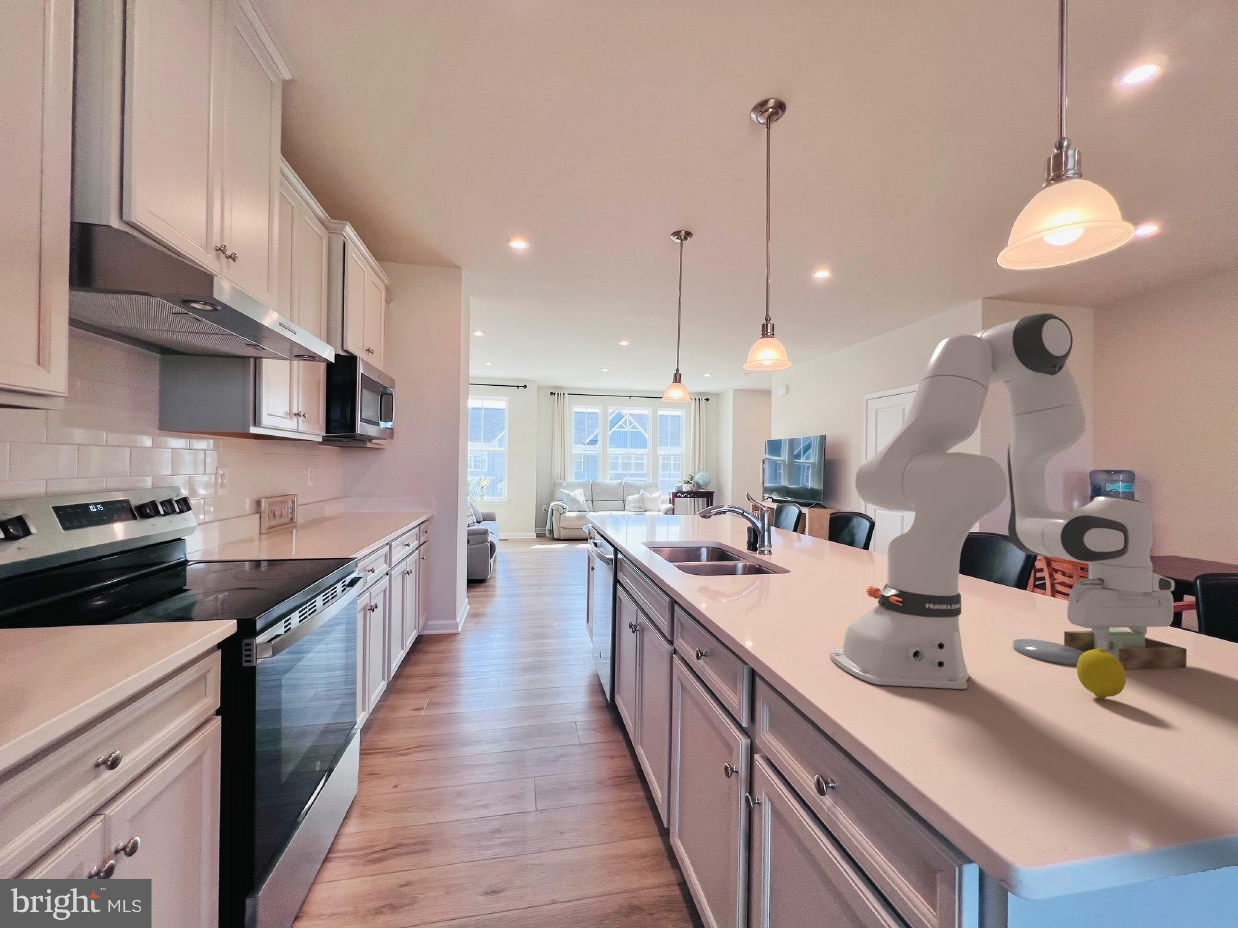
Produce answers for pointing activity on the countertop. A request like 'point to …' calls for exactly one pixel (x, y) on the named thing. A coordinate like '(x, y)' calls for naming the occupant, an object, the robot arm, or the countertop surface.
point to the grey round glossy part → (1047, 651)
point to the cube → (1122, 641)
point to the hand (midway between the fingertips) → (1119, 648)
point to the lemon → (1101, 673)
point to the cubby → (1134, 652)
